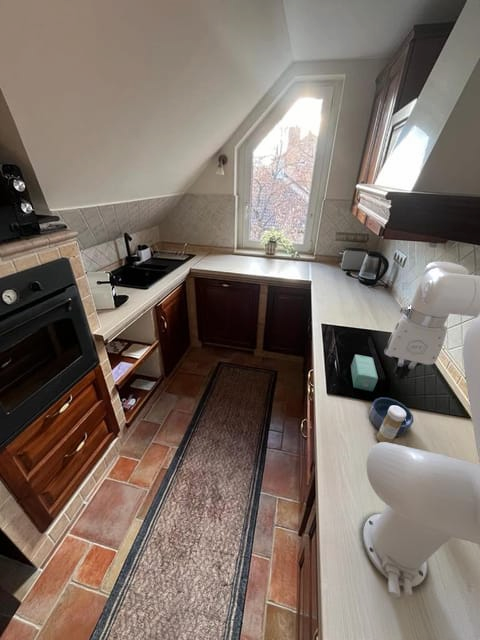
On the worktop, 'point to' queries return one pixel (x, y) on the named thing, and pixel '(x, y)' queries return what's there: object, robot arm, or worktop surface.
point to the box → (364, 373)
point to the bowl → (381, 410)
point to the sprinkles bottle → (391, 424)
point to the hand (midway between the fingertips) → (399, 376)
